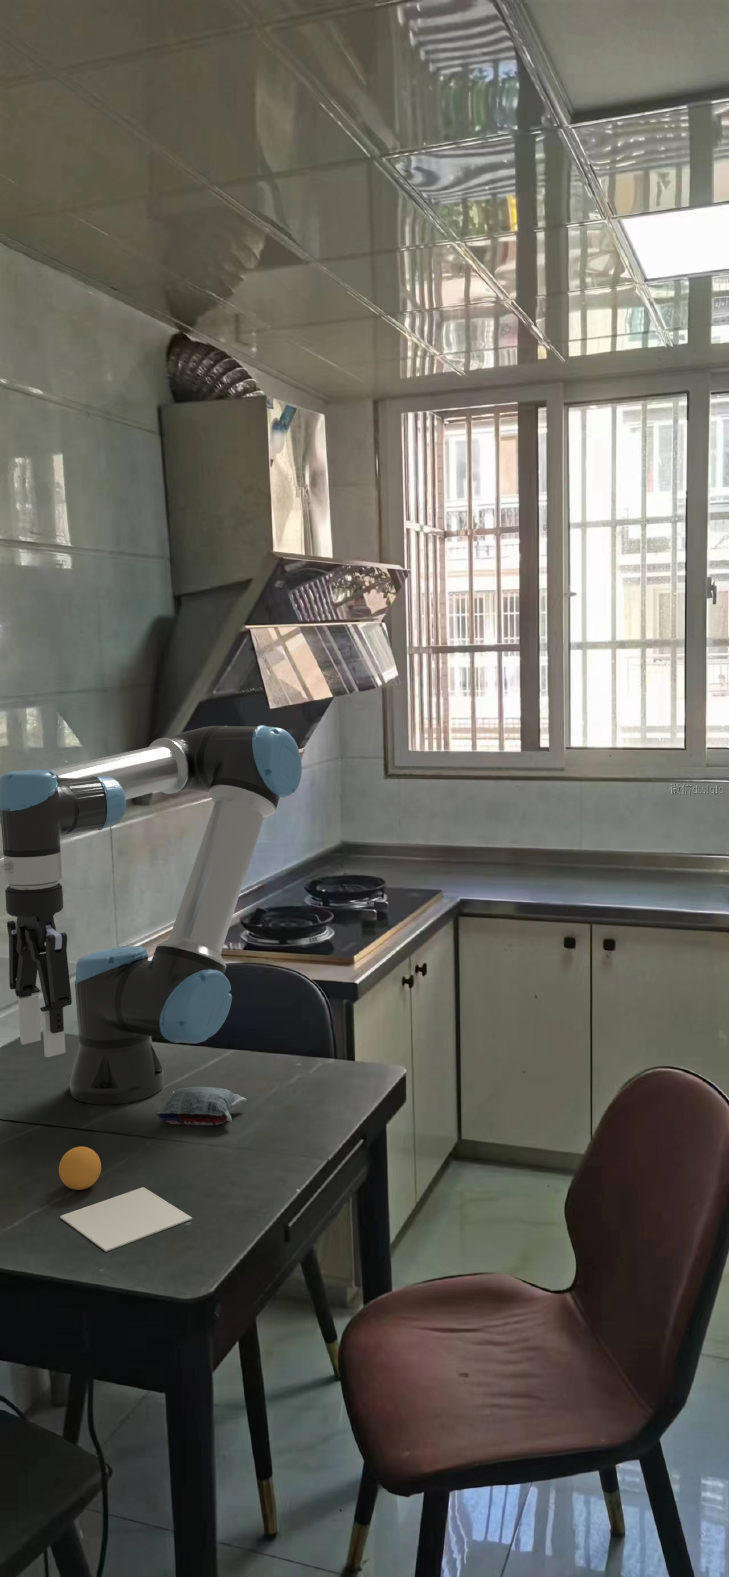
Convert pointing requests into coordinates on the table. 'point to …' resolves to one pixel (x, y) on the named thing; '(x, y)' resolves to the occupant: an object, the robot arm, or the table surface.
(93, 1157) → the ball
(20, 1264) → the table surface
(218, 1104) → the packaged food
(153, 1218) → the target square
